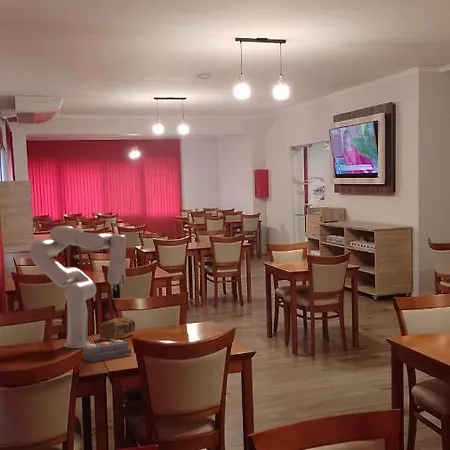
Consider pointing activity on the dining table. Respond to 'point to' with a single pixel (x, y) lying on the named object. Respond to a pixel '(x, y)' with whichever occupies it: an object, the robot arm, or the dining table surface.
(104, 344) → the terracotta button
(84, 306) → the robot arm
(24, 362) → the dining table surface
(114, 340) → the sage button
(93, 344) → the cream button
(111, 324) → the bread
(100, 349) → the button panel
